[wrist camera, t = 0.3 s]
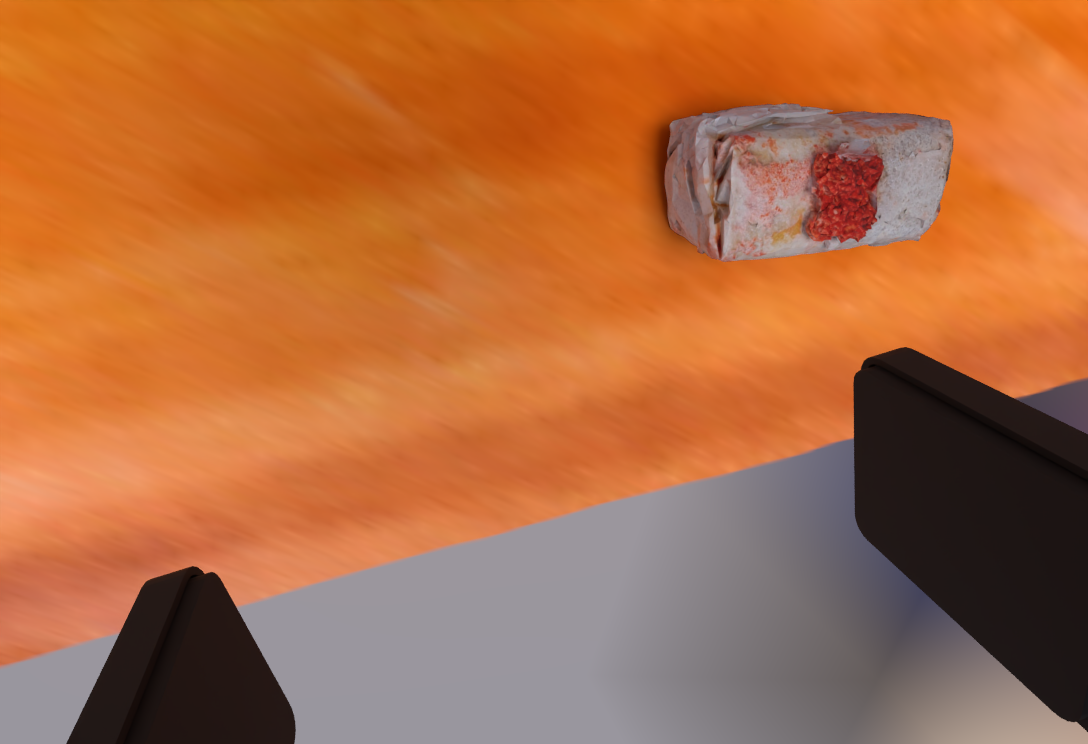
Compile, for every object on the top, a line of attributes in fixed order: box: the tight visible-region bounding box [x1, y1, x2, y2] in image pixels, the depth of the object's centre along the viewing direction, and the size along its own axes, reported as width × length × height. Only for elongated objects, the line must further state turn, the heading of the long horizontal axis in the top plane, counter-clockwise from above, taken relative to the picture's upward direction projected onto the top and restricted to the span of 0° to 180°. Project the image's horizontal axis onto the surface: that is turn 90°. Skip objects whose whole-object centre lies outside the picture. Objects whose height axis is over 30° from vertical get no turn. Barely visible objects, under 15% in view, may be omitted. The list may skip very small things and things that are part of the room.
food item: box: [665, 103, 953, 262], centre depth 36 cm, size 14×8×10 cm, turn 95°
